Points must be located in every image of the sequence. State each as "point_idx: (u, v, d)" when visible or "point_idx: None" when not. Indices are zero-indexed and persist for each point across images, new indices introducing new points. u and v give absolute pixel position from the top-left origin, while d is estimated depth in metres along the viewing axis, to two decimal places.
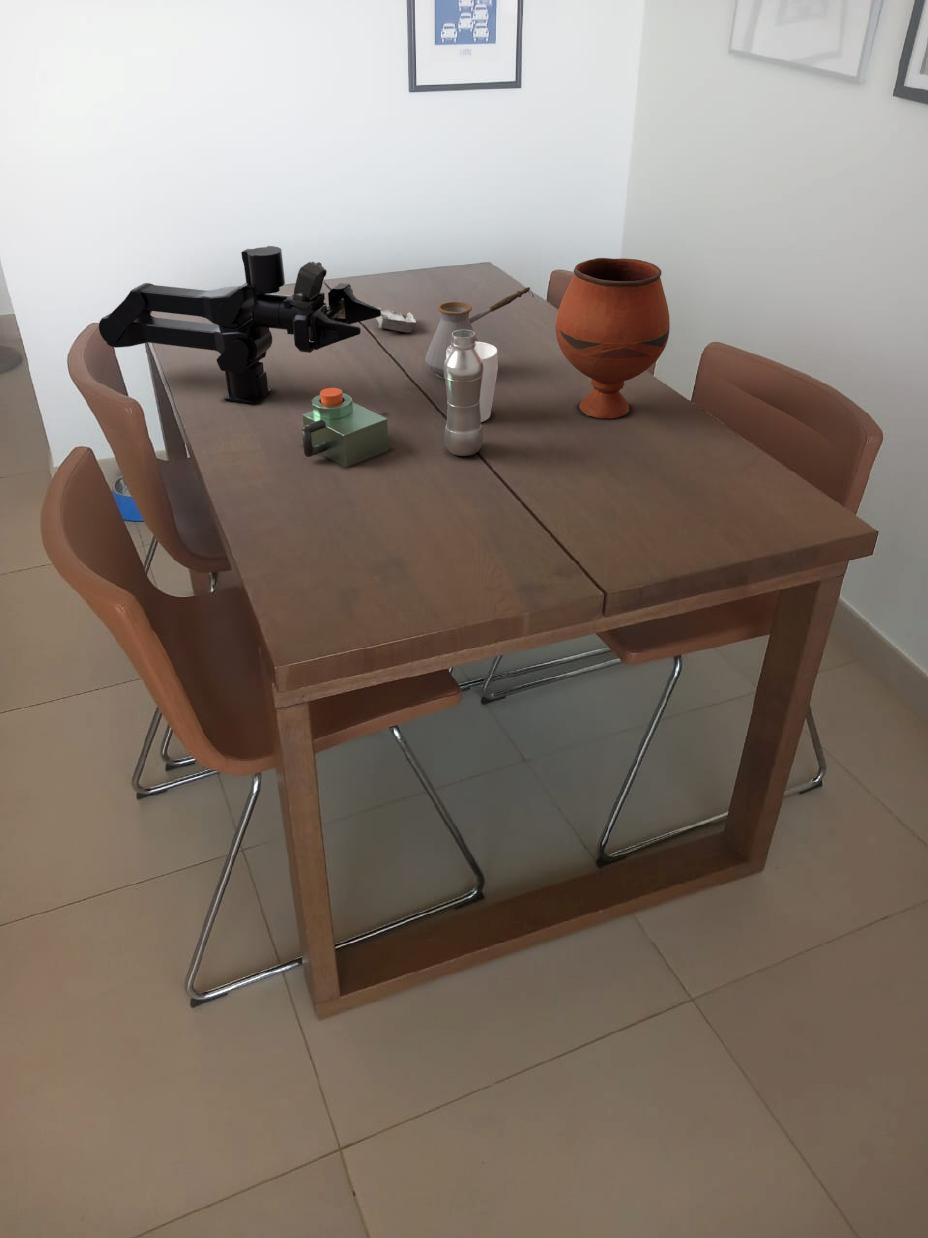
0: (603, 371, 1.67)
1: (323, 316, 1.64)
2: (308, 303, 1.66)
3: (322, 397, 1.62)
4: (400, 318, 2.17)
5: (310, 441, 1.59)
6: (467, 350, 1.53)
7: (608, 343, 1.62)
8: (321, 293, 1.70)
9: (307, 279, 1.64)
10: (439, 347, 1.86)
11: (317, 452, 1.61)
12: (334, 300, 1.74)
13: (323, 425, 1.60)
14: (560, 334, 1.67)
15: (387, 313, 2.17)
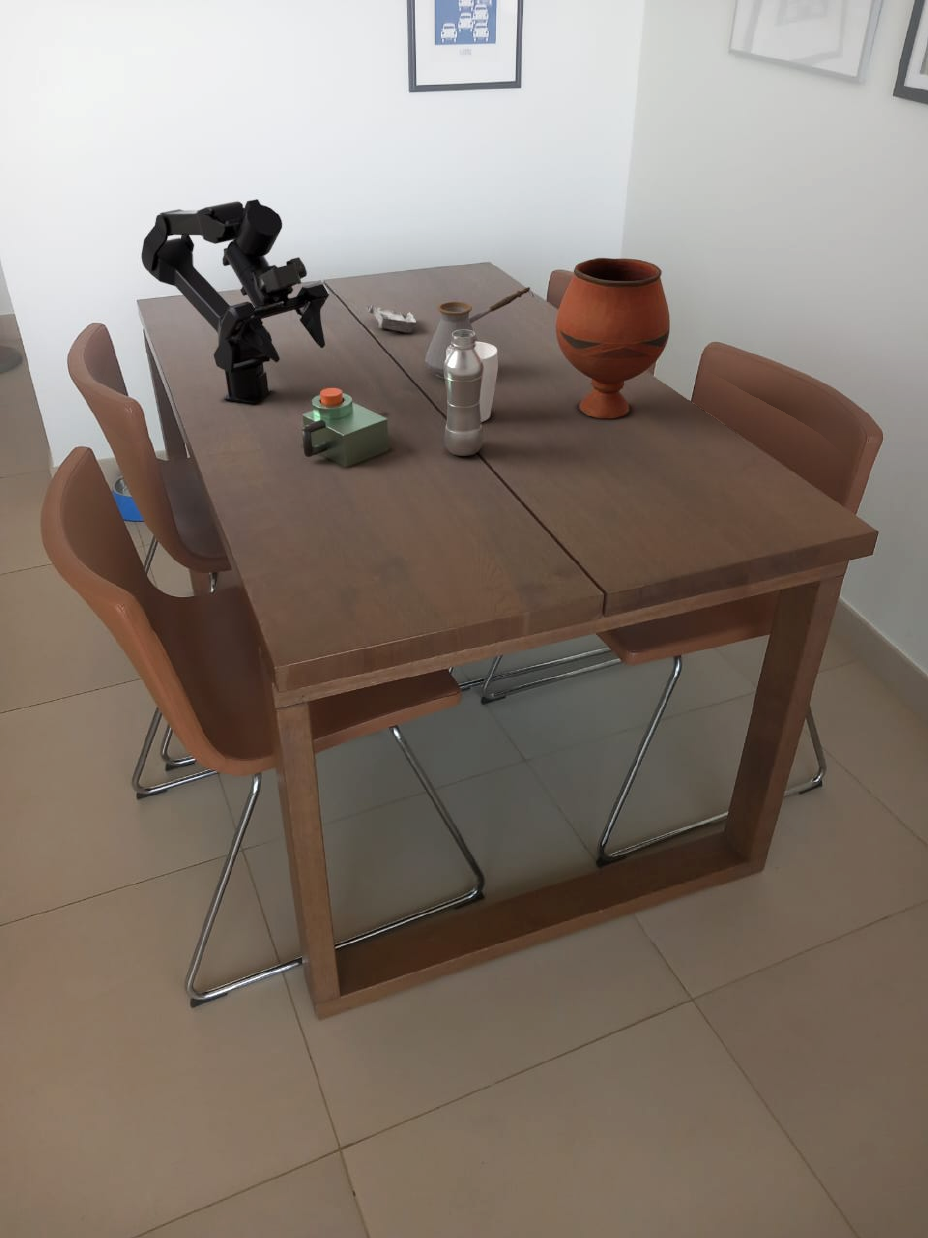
0: (603, 371, 1.67)
1: (258, 324, 1.60)
2: (263, 296, 1.61)
3: (322, 397, 1.62)
4: (400, 318, 2.17)
5: (310, 441, 1.59)
6: (467, 350, 1.53)
7: (608, 343, 1.62)
8: (289, 289, 1.64)
9: (273, 282, 1.58)
10: (439, 347, 1.86)
11: (317, 452, 1.61)
12: (304, 295, 1.68)
13: (323, 425, 1.60)
14: (560, 334, 1.67)
15: (387, 313, 2.17)
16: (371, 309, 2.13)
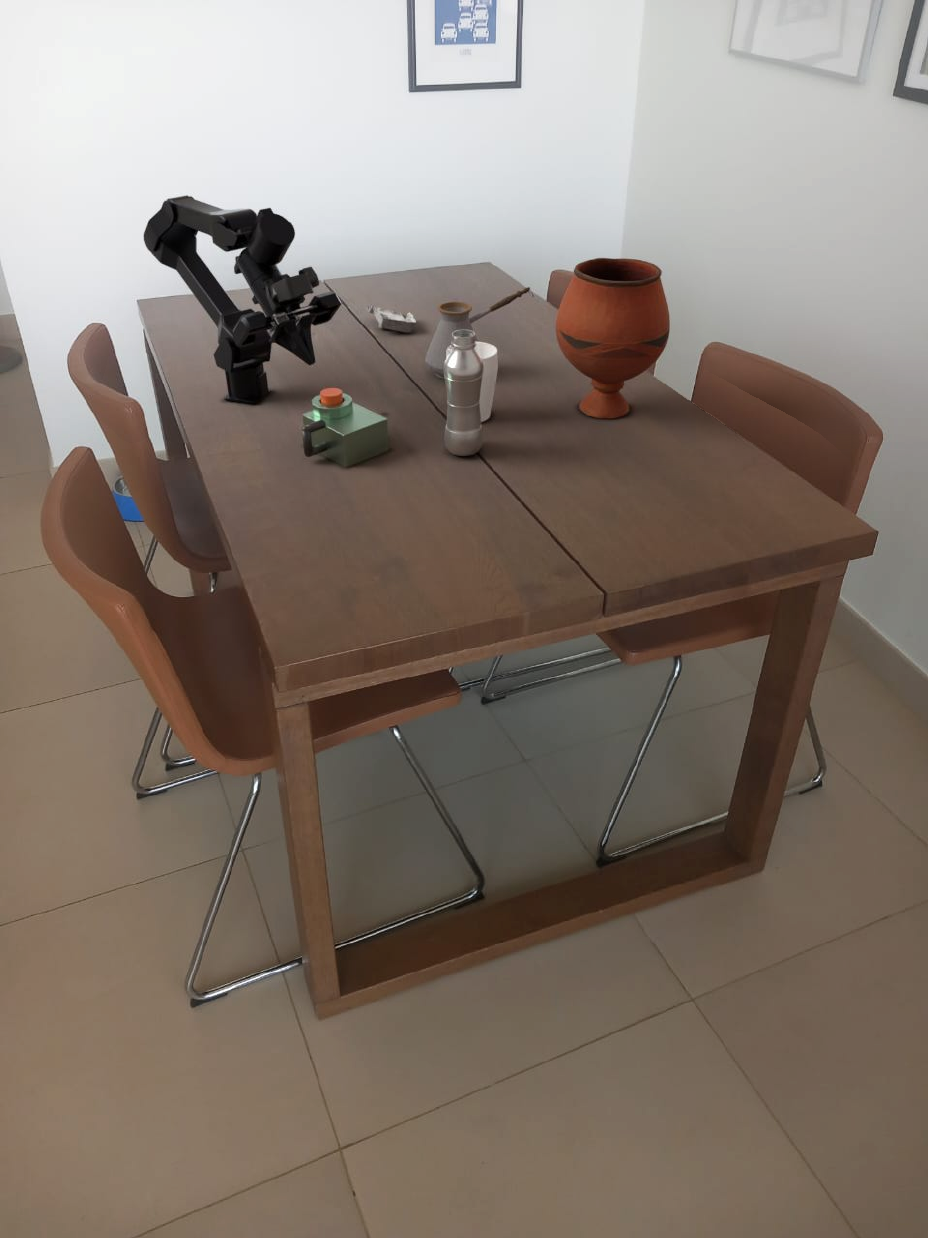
0: (603, 371, 1.67)
1: (292, 327, 1.61)
2: (275, 305, 1.59)
3: (322, 397, 1.62)
4: (400, 318, 2.17)
5: (310, 441, 1.59)
6: (467, 350, 1.53)
7: (608, 343, 1.62)
8: (301, 298, 1.62)
9: (285, 291, 1.56)
10: (439, 347, 1.86)
11: (317, 452, 1.61)
12: None
13: (323, 425, 1.60)
14: (560, 334, 1.67)
15: (387, 313, 2.17)
16: (371, 309, 2.13)
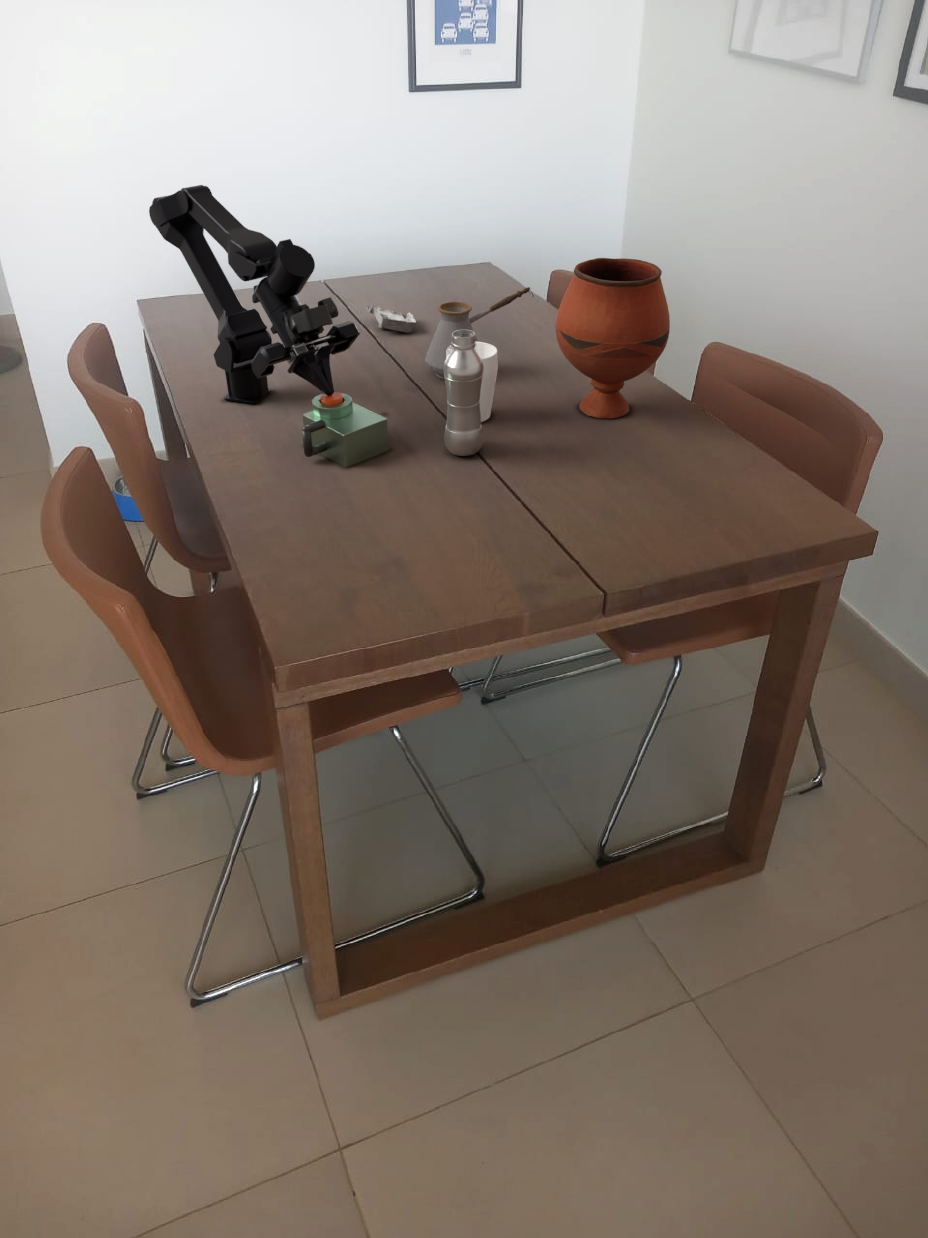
0: (603, 371, 1.67)
1: (311, 358, 1.61)
2: (294, 336, 1.59)
3: (322, 401, 1.63)
4: (400, 318, 2.17)
5: (310, 441, 1.59)
6: (467, 350, 1.53)
7: (608, 343, 1.62)
8: (320, 329, 1.62)
9: (304, 323, 1.56)
10: (439, 347, 1.86)
11: (317, 452, 1.61)
12: (334, 334, 1.66)
13: (323, 425, 1.60)
14: (560, 334, 1.67)
15: (387, 313, 2.17)
16: (371, 309, 2.13)
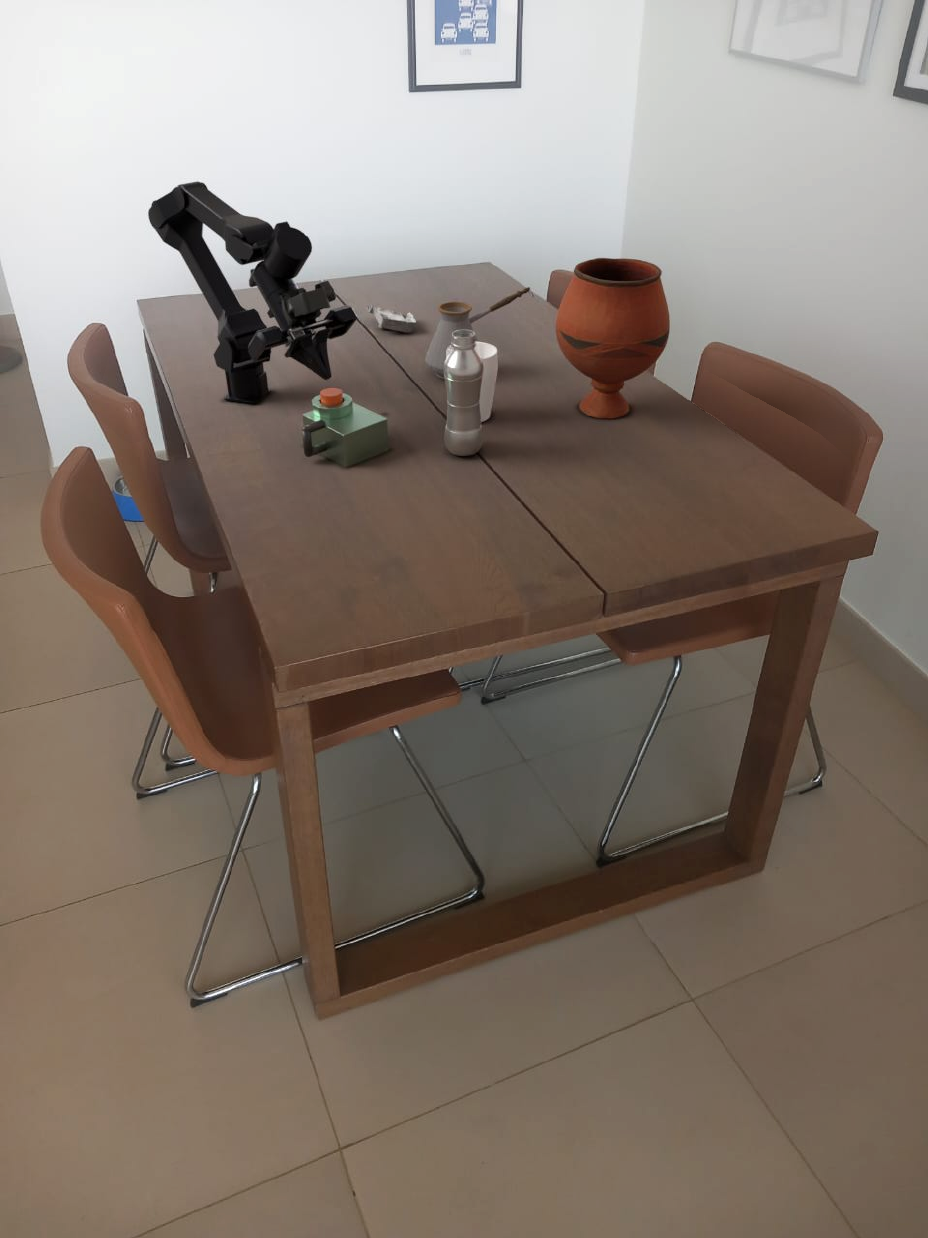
0: (603, 371, 1.67)
1: (308, 342, 1.59)
2: (291, 320, 1.58)
3: (322, 397, 1.62)
4: (400, 318, 2.17)
5: (310, 441, 1.59)
6: (467, 350, 1.53)
7: (608, 343, 1.62)
8: (317, 313, 1.60)
9: (301, 306, 1.55)
10: (439, 347, 1.86)
11: (317, 452, 1.61)
12: None
13: (323, 425, 1.60)
14: (560, 334, 1.67)
15: (387, 313, 2.17)
16: (371, 309, 2.13)
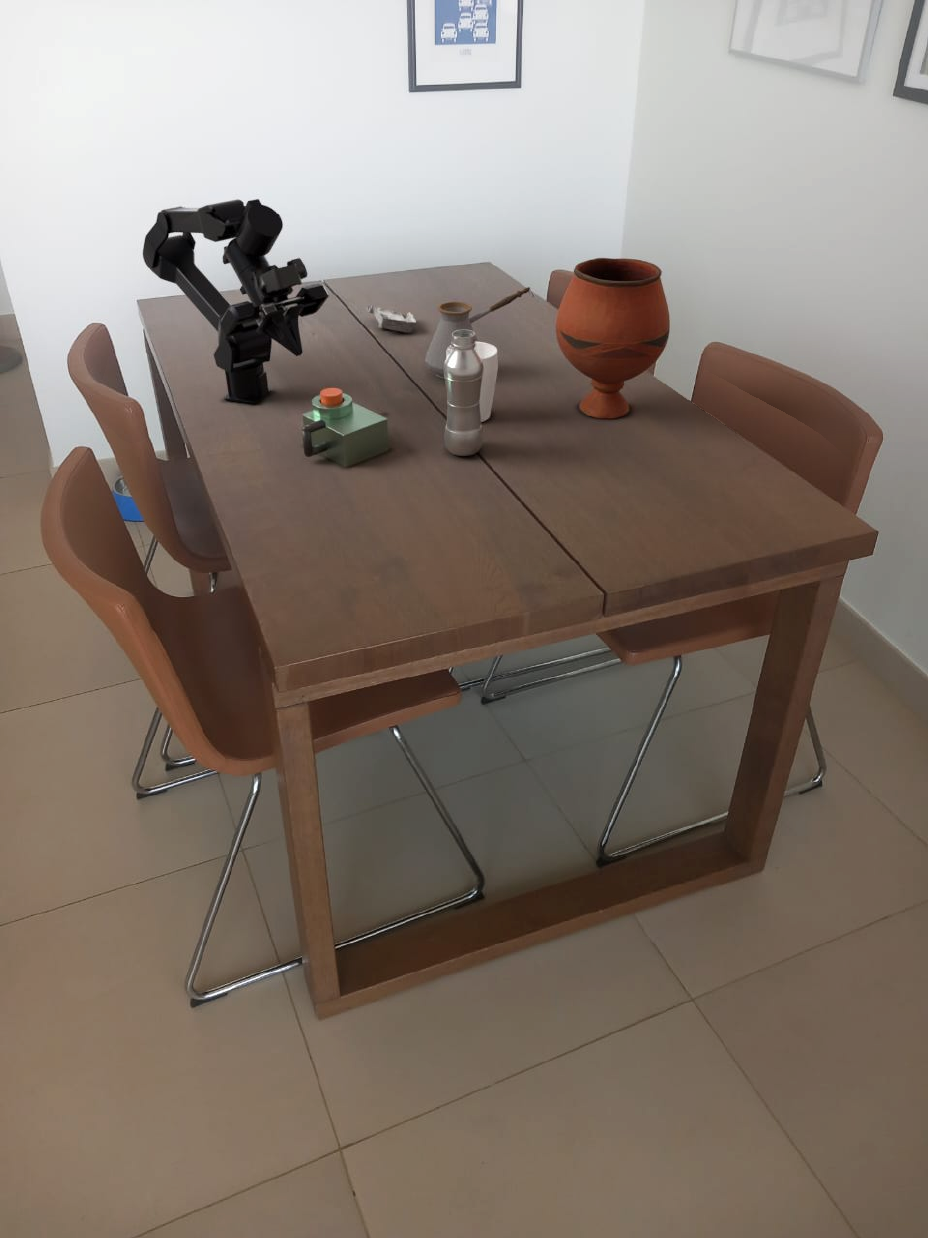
0: (603, 371, 1.67)
1: (280, 318, 1.63)
2: (263, 295, 1.61)
3: (322, 397, 1.62)
4: (400, 318, 2.17)
5: (310, 441, 1.59)
6: (467, 350, 1.53)
7: (608, 343, 1.62)
8: (289, 289, 1.64)
9: (273, 282, 1.58)
10: (439, 347, 1.86)
11: (317, 452, 1.61)
12: (303, 296, 1.68)
13: (323, 425, 1.60)
14: (560, 334, 1.67)
15: (387, 313, 2.17)
16: (371, 309, 2.13)
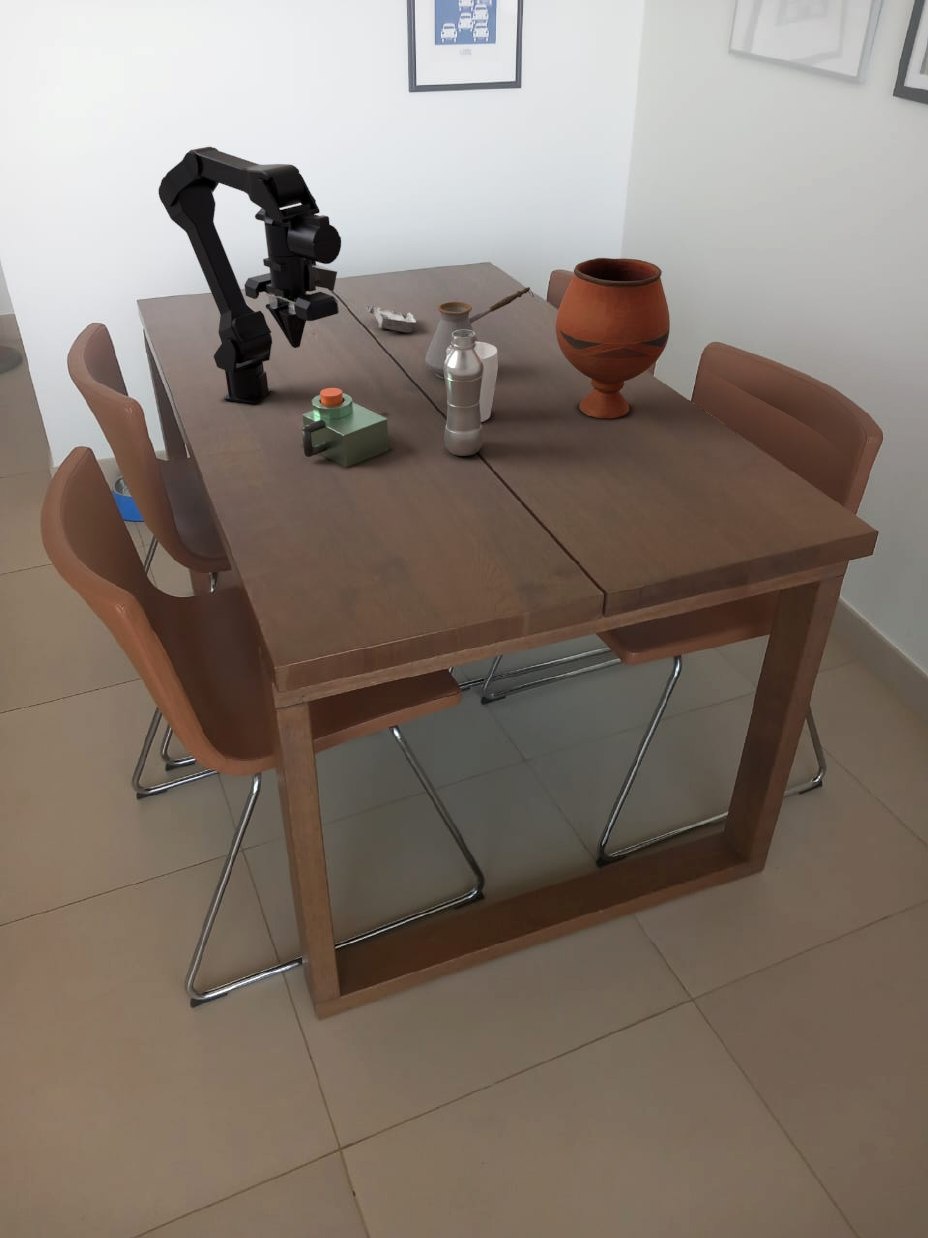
0: (603, 371, 1.67)
1: None
2: (314, 288, 1.62)
3: (322, 397, 1.62)
4: (400, 318, 2.17)
5: (310, 441, 1.59)
6: (467, 350, 1.53)
7: (608, 343, 1.62)
8: None
9: (332, 282, 1.65)
10: (439, 347, 1.86)
11: (317, 452, 1.61)
12: None
13: (323, 425, 1.60)
14: (560, 334, 1.67)
15: (387, 313, 2.17)
16: (371, 309, 2.13)
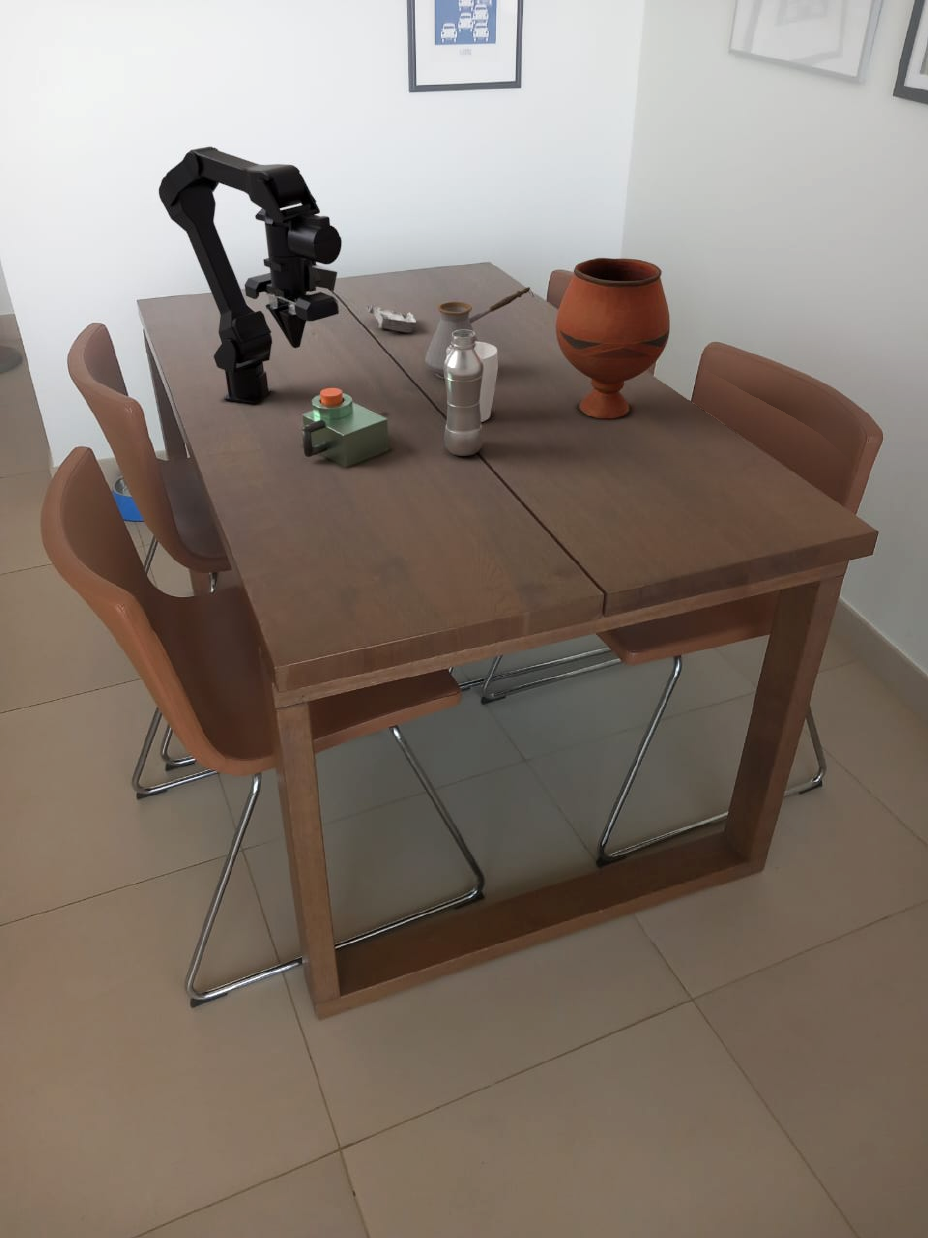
0: (603, 371, 1.67)
1: None
2: (315, 288, 1.62)
3: (322, 397, 1.62)
4: (400, 318, 2.17)
5: (310, 441, 1.59)
6: (467, 350, 1.53)
7: (608, 343, 1.62)
8: None
9: (332, 282, 1.65)
10: (439, 347, 1.86)
11: (317, 452, 1.61)
12: None
13: (323, 425, 1.60)
14: (560, 334, 1.67)
15: (387, 313, 2.17)
16: (371, 309, 2.13)
